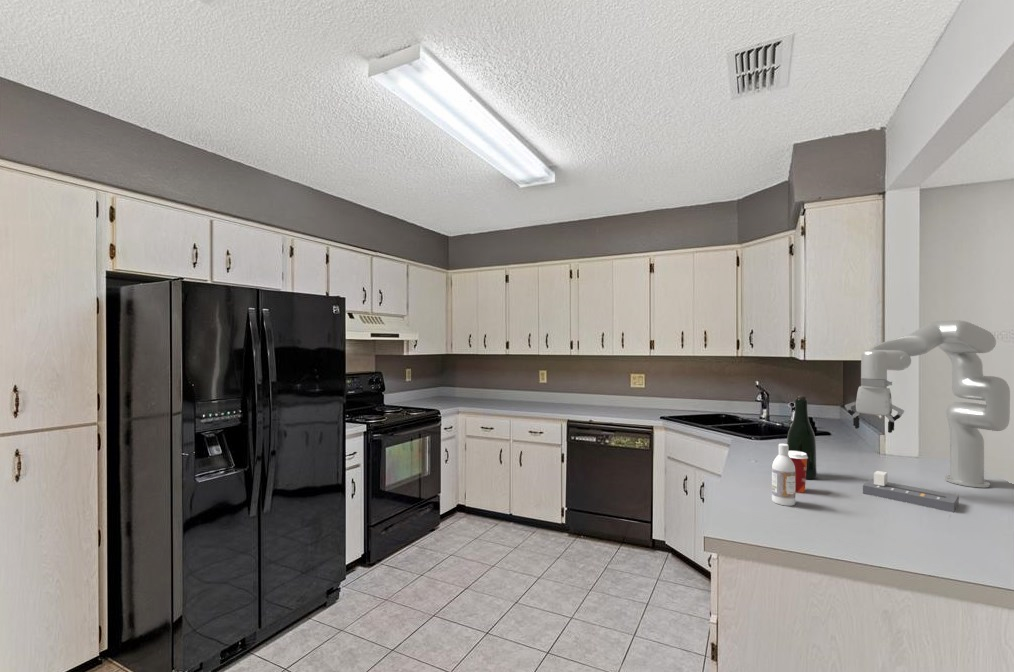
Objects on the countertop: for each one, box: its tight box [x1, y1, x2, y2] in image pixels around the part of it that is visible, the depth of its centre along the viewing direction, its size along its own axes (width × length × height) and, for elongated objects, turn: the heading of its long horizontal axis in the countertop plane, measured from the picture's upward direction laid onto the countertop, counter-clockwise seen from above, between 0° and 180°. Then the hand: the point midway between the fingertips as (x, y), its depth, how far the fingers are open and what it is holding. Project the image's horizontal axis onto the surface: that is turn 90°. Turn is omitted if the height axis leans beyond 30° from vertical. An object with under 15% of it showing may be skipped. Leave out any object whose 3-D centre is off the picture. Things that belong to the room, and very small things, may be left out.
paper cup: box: [788, 451, 808, 494], centre depth 172 cm, size 8×8×14 cm
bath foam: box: [771, 443, 796, 507], centre depth 159 cm, size 7×7×20 cm
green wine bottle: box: [786, 395, 818, 480], centre depth 190 cm, size 10×10×33 cm
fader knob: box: [873, 470, 888, 486], centre depth 169 cm, size 5×3×4 cm, turn 130°
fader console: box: [862, 478, 960, 513], centre depth 163 cm, size 12×24×3 cm, turn 40°
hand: (873, 430), depth 170 cm, fingers open, 9 cm apart
